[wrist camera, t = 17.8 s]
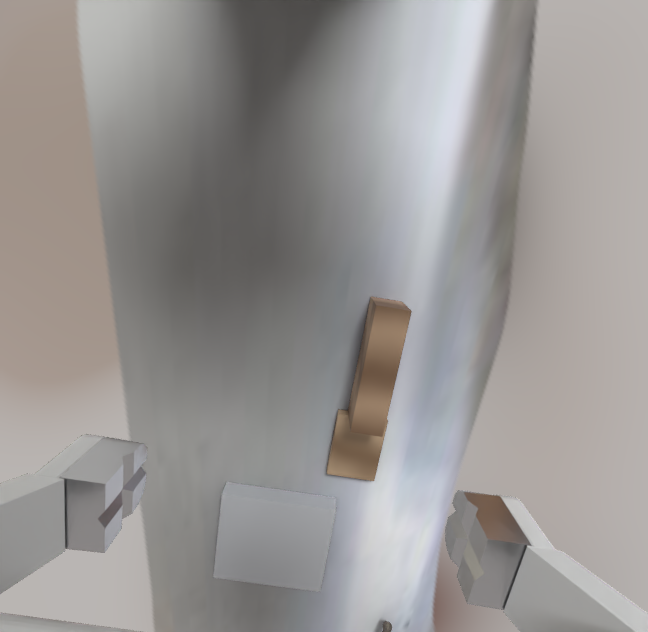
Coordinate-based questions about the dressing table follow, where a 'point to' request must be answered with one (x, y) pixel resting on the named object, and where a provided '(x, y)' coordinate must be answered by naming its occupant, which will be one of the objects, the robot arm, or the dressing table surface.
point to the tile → (273, 536)
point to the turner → (370, 392)
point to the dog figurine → (387, 627)
